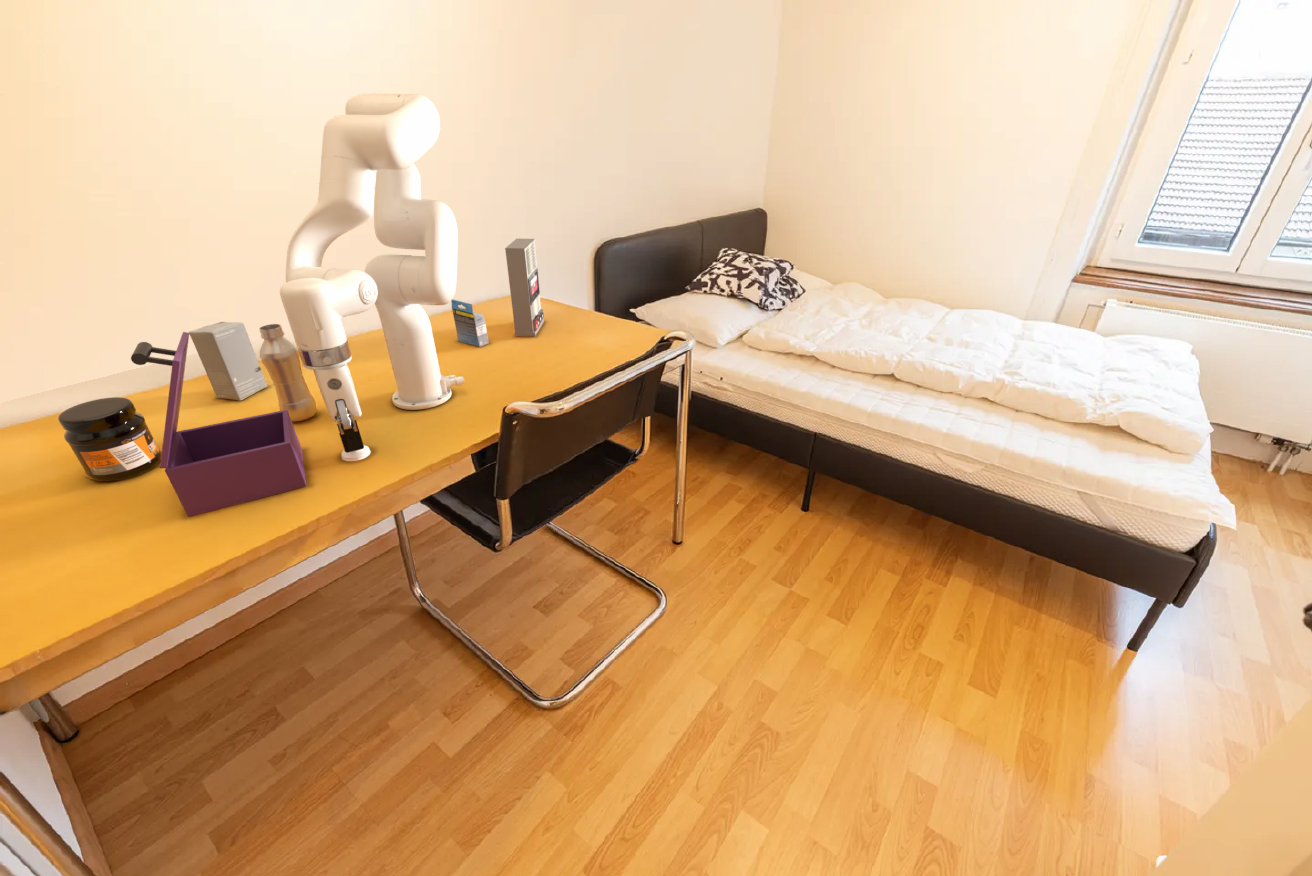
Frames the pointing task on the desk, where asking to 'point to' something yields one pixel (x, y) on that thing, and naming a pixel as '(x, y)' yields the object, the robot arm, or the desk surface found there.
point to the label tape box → (469, 324)
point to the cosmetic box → (229, 360)
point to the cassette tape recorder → (524, 287)
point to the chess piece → (356, 454)
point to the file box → (235, 462)
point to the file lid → (175, 390)
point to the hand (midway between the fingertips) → (353, 444)
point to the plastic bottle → (286, 373)
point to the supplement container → (110, 439)
